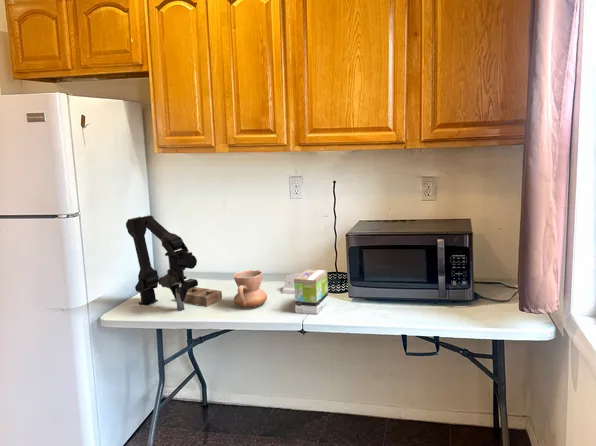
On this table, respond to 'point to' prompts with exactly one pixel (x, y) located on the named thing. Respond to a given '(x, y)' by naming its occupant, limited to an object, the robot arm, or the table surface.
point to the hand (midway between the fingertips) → (180, 300)
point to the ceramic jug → (249, 289)
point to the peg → (179, 300)
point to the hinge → (290, 284)
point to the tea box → (311, 291)
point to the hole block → (202, 296)
